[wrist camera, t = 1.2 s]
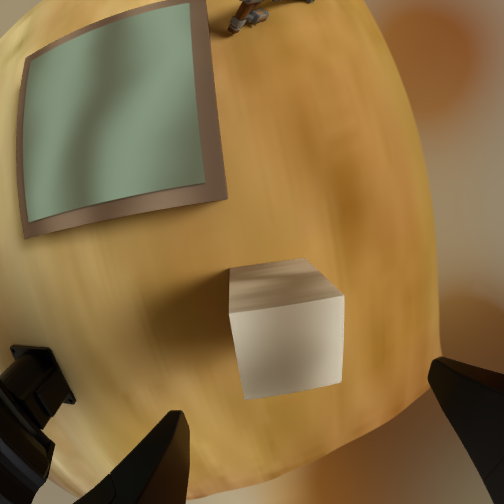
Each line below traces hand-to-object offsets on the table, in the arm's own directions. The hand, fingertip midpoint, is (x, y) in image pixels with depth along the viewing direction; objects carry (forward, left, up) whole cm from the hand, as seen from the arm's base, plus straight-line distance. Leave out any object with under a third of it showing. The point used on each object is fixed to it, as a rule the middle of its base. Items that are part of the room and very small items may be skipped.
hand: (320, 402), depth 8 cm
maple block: (0, -1, -11) cm, 11 cm away
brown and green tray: (-9, +13, -11) cm, 20 cm away
